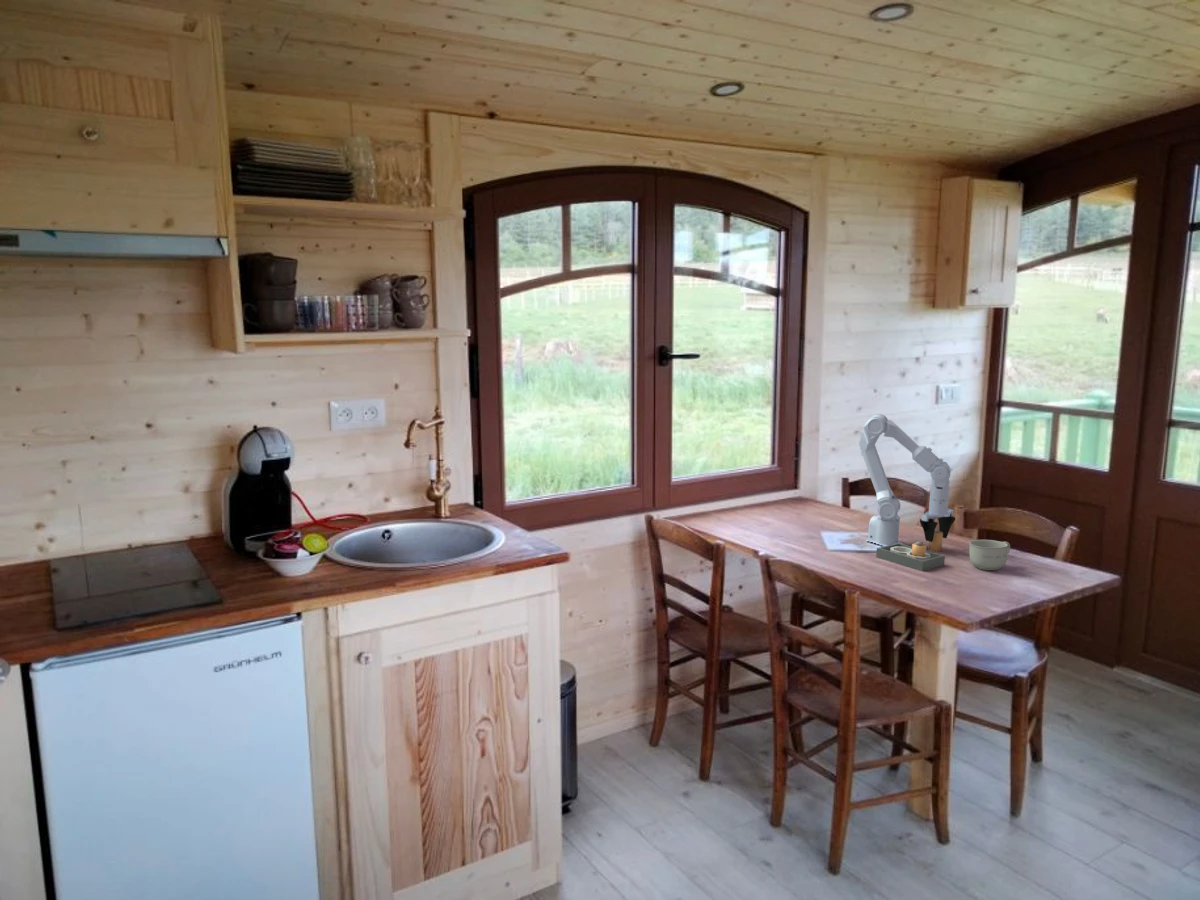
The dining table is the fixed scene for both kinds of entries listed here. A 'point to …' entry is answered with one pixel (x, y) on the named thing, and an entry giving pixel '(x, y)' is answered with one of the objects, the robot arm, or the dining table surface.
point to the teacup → (988, 554)
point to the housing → (911, 556)
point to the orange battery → (936, 541)
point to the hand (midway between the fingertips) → (936, 539)
